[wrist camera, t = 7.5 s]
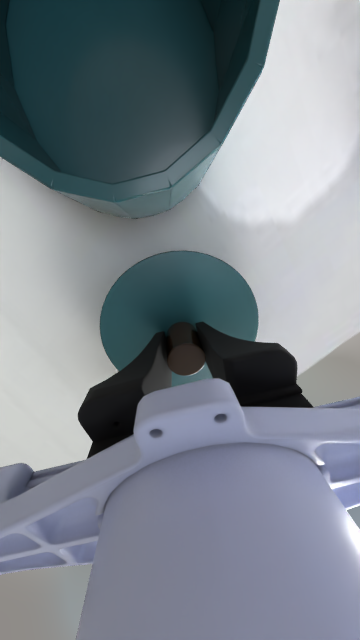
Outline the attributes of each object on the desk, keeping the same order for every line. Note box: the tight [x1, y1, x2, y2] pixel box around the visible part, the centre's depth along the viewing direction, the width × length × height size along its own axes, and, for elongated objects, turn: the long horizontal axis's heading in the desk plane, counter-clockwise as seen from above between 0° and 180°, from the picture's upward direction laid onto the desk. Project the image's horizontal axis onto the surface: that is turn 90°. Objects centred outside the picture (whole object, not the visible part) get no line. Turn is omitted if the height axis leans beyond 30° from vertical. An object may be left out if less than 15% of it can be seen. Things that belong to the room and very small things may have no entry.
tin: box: [0, 0, 280, 219], centre depth 7 cm, size 11×11×6 cm
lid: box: [100, 251, 258, 387], centre depth 12 cm, size 12×12×4 cm
